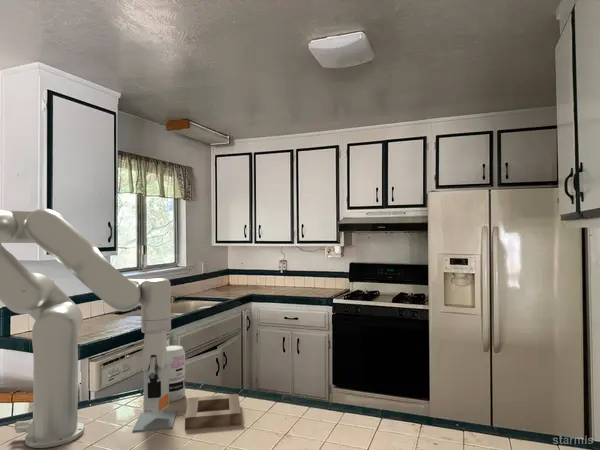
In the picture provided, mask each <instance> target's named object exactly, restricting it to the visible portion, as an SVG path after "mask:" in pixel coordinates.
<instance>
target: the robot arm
mask: <svg viewBox="0 0 600 450" xmlns="http://www.w3.org/2000/svg"><path fill="white" fill-rule="evenodd" d="M9 243H10V244H36V245H38V246H39V247H40V248H41V249H42V250H44V251H45V252H46V253H48V254H49V255H50V256H51V257H52V258H53V259H55V261H56V260H57V262H58V263H60V264H61V265H62V266H63V267H65V268H66V269H67V270H68V271H69V272H70V274H72V275H73V276H74V277H75V278H76V279H78V280H79V281H80V282H81V283H82V284H83V285H84V286H86V287H87V288H88V289H89V290H90V291H91V292H92V293H93V294H94V295H95V296H96V297H98V298H99V299H101V300H102V301H103V302H104V303H105V304H107V305H108V306H109V307H111V308H112V309H114V310H116V311H119V312H127V311H131V310H133V309H134V308H136V307H137V306H138V305H140V316H141V318H140V321H141V323H140V326H141V327H140V328H141V329H140V330H141V332H140V333H142V334H144V337H143V349H142V350H143V352H142V353H143V357H142V371H143V373H144V372H146V371H147V370H148V367H149V374H148V398H160V397H161V381H160V371H161V370H162V369H163V367H164V364H165V362H166V356H167V346H168V340H167V339H168V338H167V337H168V335H167V334H168V333H167V332H170V331H171V330H172V309H171V308H172V305H171V303H172V300H171V299H172V297H171V295H172V294H171V292H172V291H171V290H172V289H171V288H172V287H171V282H170V281H171V280H170V279H168V278H164V277H163V278H162V277H158V278H156V277H155V278H147V279H139V278H138V279H136V278H127V277H126V276H125V275H123V274H122V273H121V272H120V271H119V270H118V269H117V268H115V267H114V266H113V264H111V262H109V261H108V260H107V258H105V257H104V255H103V253H101V251H100V249H99V248H98V247H97V246H96V245H95V244H94V243H93V242H92V241H90V239H88V238H87V236H84V235H83V234H82V233H81V232H80V231H78V229H76V228H75V227H74V226H72V224H71V223H69V222H68V221H67V219H66V218H65V216H63V215H62V213H59V212H57V211H55V210H53V209H50V208H39V209H36V210H33V211H26V210H22V211H21V210H5V209H0V302H2V304H3V305H4V306H5V307H6V308H7V309H8V310H9V311H11V312H13V313H14V314H15V313H16V314H19V315H20V314H21V315H25V314H28V315H29V316H31V317H32V318H33V320H34V323H33V326H32V330H31V331H32V332H31V343H32V345H31V346H32V351H33V352H32V353H33V372H32V373H33V387H32V388H33V389H32V390H33V394H32V395H33V397H32V399H33V400H32V404H33V405H32V408H33V409H32V411H33V412H32V418H31V419H30V420H20V421H16V422H15V424H14V430H15V433H16V434H20V433H26V436H25V437H24V444H25V446H27V447H29V448H34V449H45V448H46V449H47V448H54V447H57V446H58V447H59V446H62V445H64V444H67V443H70V442H72V441H74V440H77V439H78V438H79V437H81V436H82V435H83V434H84V432H85V424H83V423H82V422H80V421H78V411H79V409H78V408H79V407H78V402H79V400H78V399H79V347H78V346H79V345H78V335H79V333H78V332H79V330H80V329H81V328H82V325H83V318H84V316H83V312H82V311H81V309H80V307H79V306H78V305H77V304H76V303H75V302H74V301H73V300H72V299H71V298H70V297H69V295H67V294H66V293H65V292H64V291H63V290H62V289H61V288H60V287H59V286H58V285H57V284H56V283H55V282H54V281H53V280H52V279H51V278H49V277H48V276H46V275H44V274H42V273H39V272H38V273H37V272H31V271H29V269H27V267H25V265H23V264H22V263H21V262H20V261H19V260H18V258H16V256H14V255H13V254H12V253H11V252H10V251H8V250H7V249H6V247H4V245H3V244H9ZM156 367H158V369H155V368H156ZM156 372H158V373H157V374H155V373H156Z"/></svg>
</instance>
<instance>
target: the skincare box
mask: <svg viewBox="0 0 600 450" xmlns="http://www.w3.org/2000/svg"><path fill="white" fill-rule="evenodd" d="M155 369H158V367H156V368H155ZM157 373H158V372H156V373H155V374H157ZM148 374H149V367H148V370H147V371H146V372H144V371H143V408H142V409H143V411H142V413H144V414H156V415H157V414H159V413H160V412H161V411H165V409H167V408H168V407H169V406H170V402H169V362H165V364H164V367H163V369H162V370H161V371H160V381H161V397H160V398H148Z"/></svg>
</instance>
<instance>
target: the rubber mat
mask: <svg viewBox="0 0 600 450" xmlns="http://www.w3.org/2000/svg"><path fill="white" fill-rule="evenodd" d="M177 412H178V410H177V409H174V410H163V411H161V412H160V413H159V414H157V415H156V414H144V413H143V412H140V414H139V416H138V418H137V421H136V423H135V424H134V426H133V429H132V433H136V432H138V433H139V432H148V431H158V430H172V429H174V424H175V420H176V416H177Z"/></svg>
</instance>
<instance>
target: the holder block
mask: <svg viewBox="0 0 600 450" xmlns="http://www.w3.org/2000/svg"><path fill="white" fill-rule="evenodd" d="M239 395H240V394H238V393H233V394H223V395H221V394H220V395H219V394H218V395H208V396H198V397H197V396H194V397H188V400H187V406H186V410H185V415H184V431H186V430H198V429H210V428H221V427H231V426H241V425H242V424H241V423H242V419H241V418H242V417H241V415H242V413H241V412H242V411H241V404H240V397H239Z"/></svg>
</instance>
